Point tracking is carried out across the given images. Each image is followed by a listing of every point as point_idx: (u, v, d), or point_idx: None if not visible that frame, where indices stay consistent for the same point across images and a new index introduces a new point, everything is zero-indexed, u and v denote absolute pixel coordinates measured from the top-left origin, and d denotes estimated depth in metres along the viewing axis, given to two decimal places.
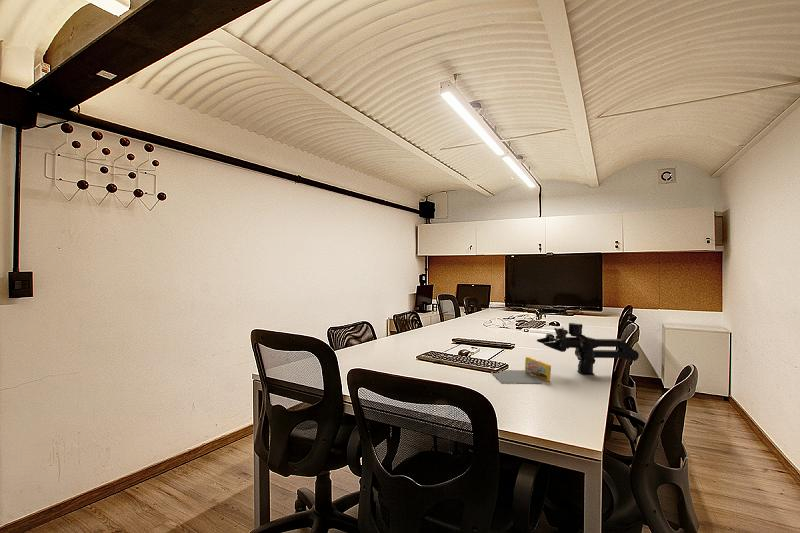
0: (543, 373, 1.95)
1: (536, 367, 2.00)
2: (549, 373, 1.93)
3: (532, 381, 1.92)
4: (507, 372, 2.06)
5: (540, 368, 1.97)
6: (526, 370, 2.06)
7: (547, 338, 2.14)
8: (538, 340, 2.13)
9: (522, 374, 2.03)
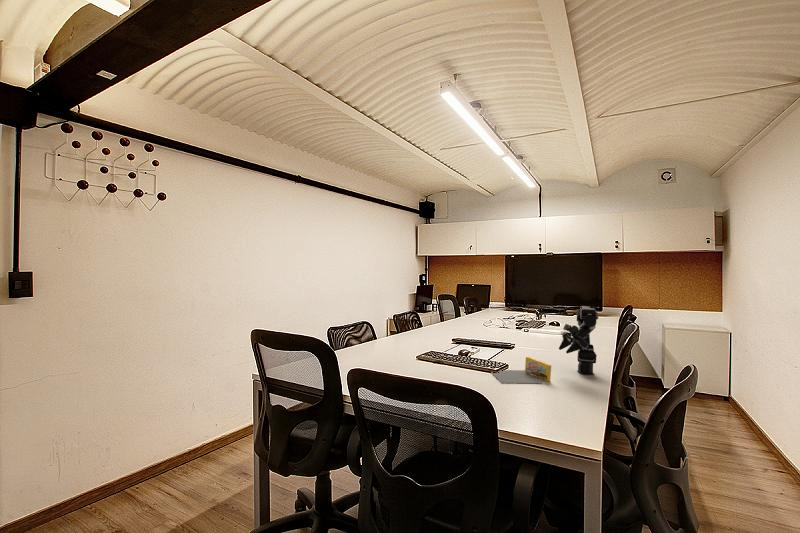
0: (543, 373, 1.95)
1: (536, 367, 2.00)
2: (549, 373, 1.93)
3: (532, 381, 1.92)
4: (507, 372, 2.06)
5: (540, 368, 1.97)
6: (526, 370, 2.06)
7: (565, 339, 2.06)
8: (560, 348, 2.05)
9: (522, 374, 2.03)
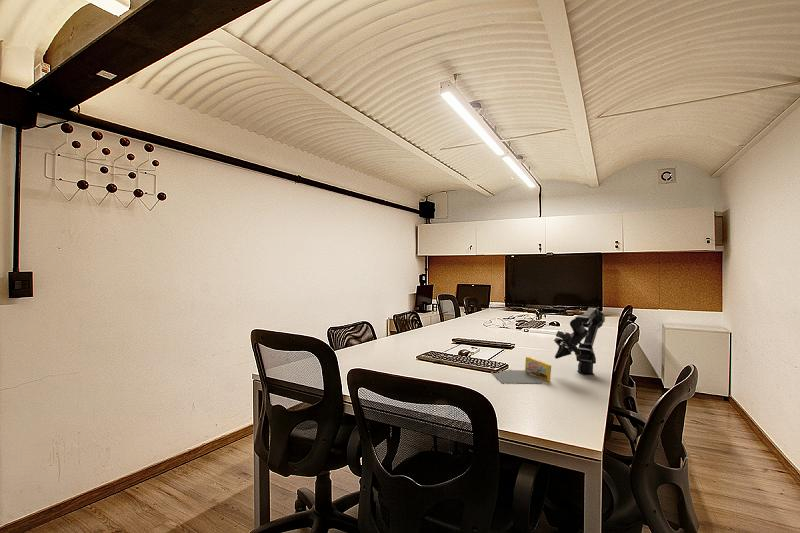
0: (543, 373, 1.95)
1: (536, 367, 2.00)
2: (549, 373, 1.93)
3: (532, 381, 1.92)
4: (507, 372, 2.06)
5: (540, 368, 1.97)
6: (526, 370, 2.06)
7: None
8: None
9: (522, 374, 2.03)
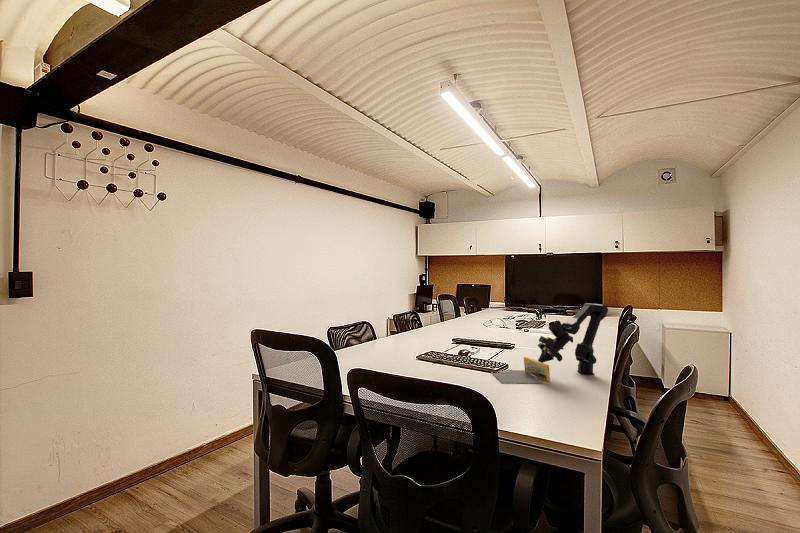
0: (542, 373, 1.95)
1: (535, 367, 1.99)
2: (548, 373, 1.93)
3: (532, 381, 1.92)
4: (507, 372, 2.06)
5: (539, 368, 1.97)
6: (526, 370, 2.06)
7: None
8: None
9: (522, 374, 2.03)
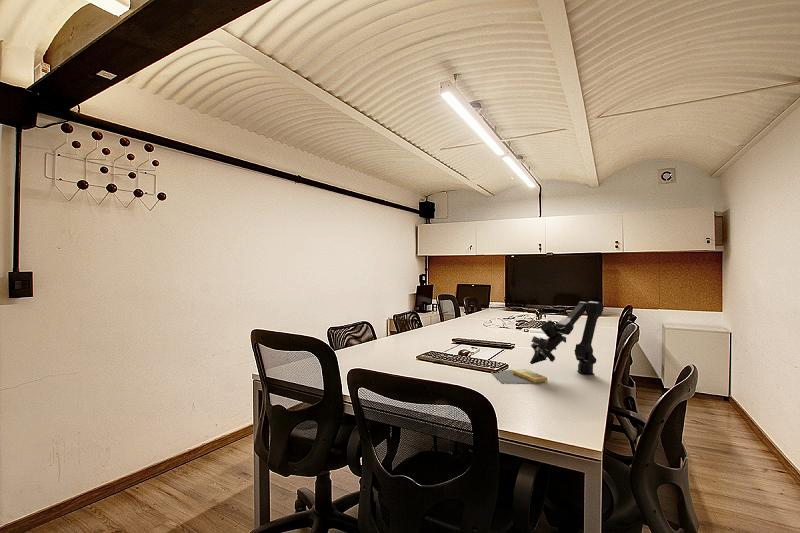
0: None
1: None
2: (541, 380, 1.91)
3: (532, 381, 1.92)
4: (507, 372, 2.06)
5: None
6: None
7: None
8: None
9: None
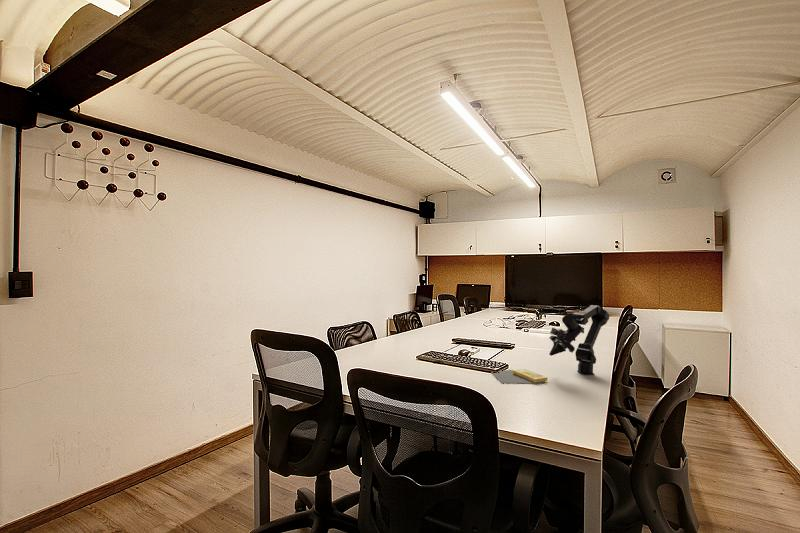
0: None
1: None
2: (541, 380, 1.91)
3: (532, 381, 1.92)
4: (507, 372, 2.06)
5: None
6: None
7: None
8: None
9: None
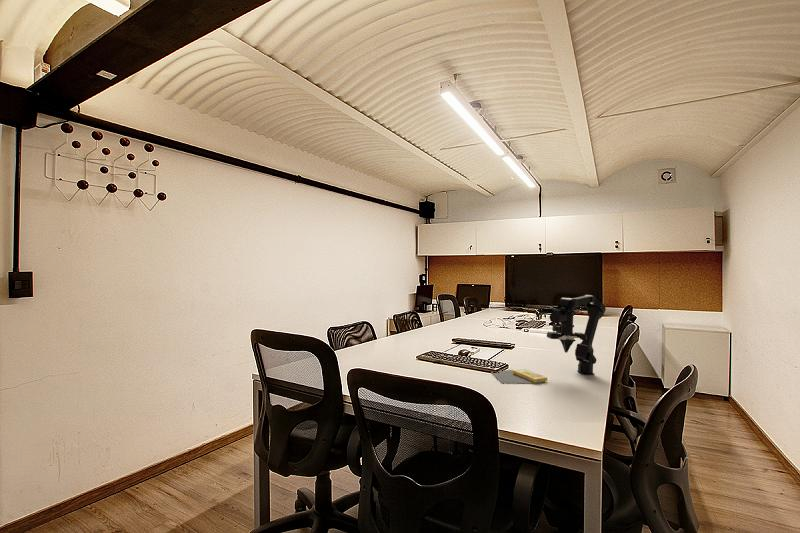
0: None
1: None
2: (541, 380, 1.91)
3: (532, 381, 1.92)
4: (507, 372, 2.06)
5: None
6: None
7: (566, 340, 2.02)
8: None
9: None
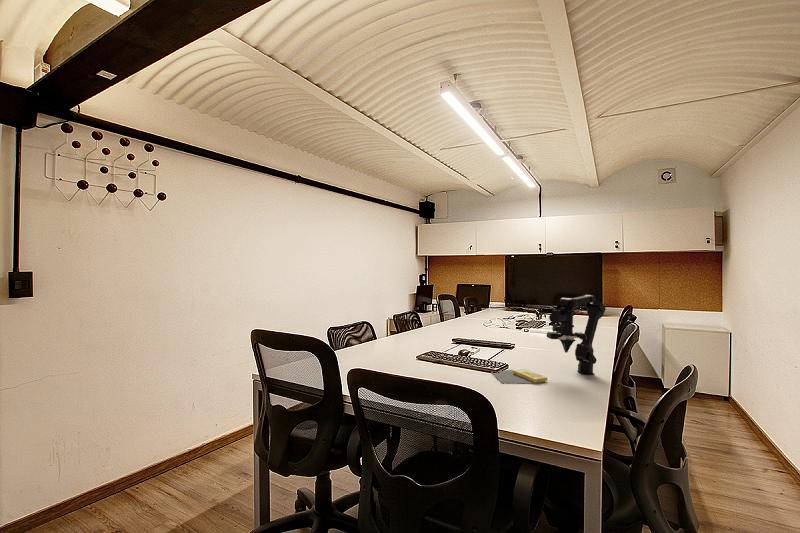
0: None
1: None
2: (541, 380, 1.91)
3: (532, 381, 1.92)
4: (507, 372, 2.06)
5: None
6: None
7: (566, 340, 2.02)
8: None
9: None
